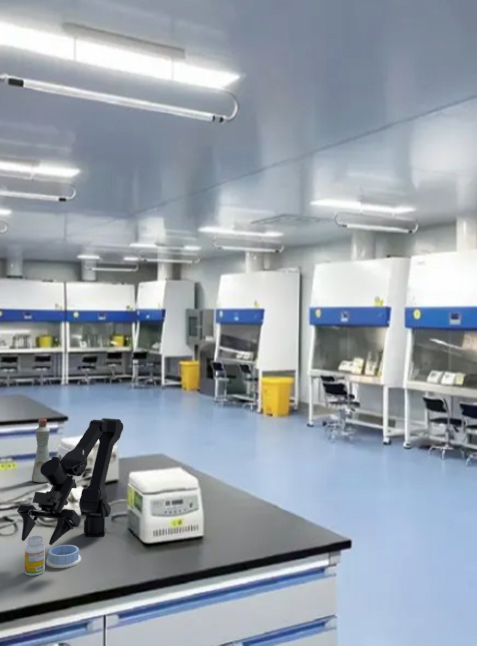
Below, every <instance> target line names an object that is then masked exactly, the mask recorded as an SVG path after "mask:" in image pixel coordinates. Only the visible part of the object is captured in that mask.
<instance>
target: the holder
mask: <svg viewBox="0 0 477 646" xmlns="http://www.w3.org/2000/svg"><path fill="white" fill-rule="evenodd" d="M81 561H82V555H80V547H78V546H76V545H73V544H61V545H60V544H59V545H55V546H53V547H51V548H50V549H49V550H48V553H47V557H46V560H45V565H46V566H48V567H49V568H54V569H66V568H67V569H68V568H71V567H75V566H76V565H78V564H80V563H81Z"/></svg>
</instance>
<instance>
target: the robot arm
mask: <svg viewBox="0 0 477 646" xmlns="http://www.w3.org/2000/svg"><path fill="white" fill-rule="evenodd" d="M123 431H124V424H123V422H122V420H121V419H119V418H109V417H107V418H106V417H103V418H101V419H92V420H90V421H89V424H88V427H87V429H86V430H85V432H84V434H83V435H82V436H81V438H80V439H79V441H78V443H77V444H76V446H75V447H74V448H72V450H70V451H68V452H66V453H65V454H64V455H63V456H62V458H61V459H60V458H59V456H52V457H51V459H50V460H48V461H47V462H45V463H44V464H43V465H42V466H41V469H40V472H41V474H42V475H43V476H44V478H45V479H46V480H47V482H46V483H48V484H49V485H50V486H51V488H50V489H49V490H47V491H46V492H43V491H42V492H40V491H35V492H34V495H33V499H32V504H30V503H21V504H20V505H19V506H18V508H17V510H16V512H17V513H18V514H19V516H20V517H21V518H22V531H21V541H22V542H25V541H26V539H28V538H29V535H30V533H31V532H32V530H33V529H34V527H35V525H36V524H37V522H36V521H37V520H38V519H39V518H44V519H52V520H53V519H54V520H57V521H56V522H57V523H56V526H55V528H54V530H53V532H52V534H51V536H50V539H49V543H48V544H49V545H50V546H53V544H54V543H56V542H57V541H58V540H59V539H60V538H61V537H62V536H64V535H65V534H67V533H68V532H69V531H71V530H74V528H79V526H80V523H81V517H80V516H79V514H78V513H77V512H76V510H75V509H70V508H64V507H65V506H68V504H69V501H68V498H69V496H70V494H71V492H72V489H77V488H78V487H77V486H78V485H77V483H76V479H75V478H73V477H81V476H83V475H84V473H85V471H86V468H87V467H88V457H89V455H90V454H91V452H92V450H93V448H94V447H95V445H96V444H97V442H98V443H99V444H98V447H97V453H96V455H95V456H96V457H95V459H94V460H95V461H94V465H93V468H92V473H91V477H90V480H89V481H90V482H89V484H88V485H87V486H86V487H84V488H82V490H81V494H80V498H79V500H78V501H79V503H78V507H79V512H80V515H81V516H85V518H84V520H83V534H84V537H104V536H106V532H107V527H106V518H108V517H109V516H110V515H111V511H112V508H111V506H110V505H109V503H108V502H107V498H108V495H107V491H106V490H105V489H106V488H105V485H106V480H107V476H108V471H109V466H110V462H111V460H112V459H111V458H112V453H113V449H114V445H115V444H116V443H118V441H119V440H120V438H121V435H122V432H123ZM34 504H37V507H38V508H39V509H37V508H36V507H35V505H34Z"/></svg>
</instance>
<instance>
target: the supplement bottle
mask: <svg viewBox="0 0 477 646" xmlns="http://www.w3.org/2000/svg"><path fill="white" fill-rule="evenodd" d="M43 542H44V540H43V536H42V535H41V536H40V535H34V536H29V537H27V545H26V546H25V548H24V573H25V575H27V576H38V575H41V574H43V573H44V572H45V569H46V568H45V567H46V560H45V557H46V555H45V553H46V552H45V551H46V548H45V547H46V546H45V544H43Z"/></svg>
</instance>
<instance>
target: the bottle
mask: <svg viewBox="0 0 477 646" xmlns="http://www.w3.org/2000/svg"><path fill="white" fill-rule="evenodd" d="M47 423H48V421H47V419H46V418H43V417H42V418H39V419H38V427H37V428H36V429H35V438H36V445H37V447H36V452H35V459H34V465H33V469H32V474H31V481H32V482H34V483H35V482H36V483H40V484H41V483H42V484H43V483H45V482H46V483H48V482H47V480H46V479H45V478H44V476H43V475H42V474H41V472H40V469H41V466H42V465H43V464H44V463H45V462H47V461H48V460H51V459H50V451H49V445H48V444H49V438H50V432H51V429H50V428H49V427H48V426H47Z"/></svg>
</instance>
